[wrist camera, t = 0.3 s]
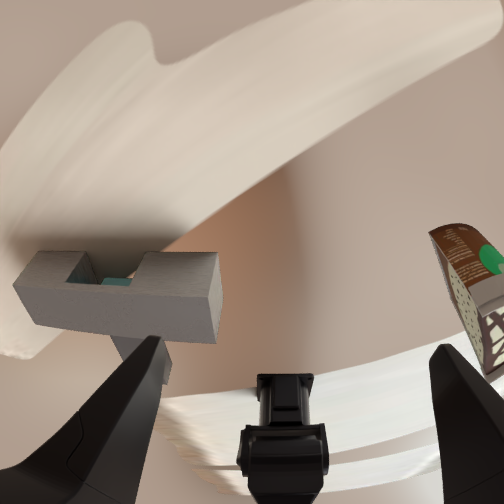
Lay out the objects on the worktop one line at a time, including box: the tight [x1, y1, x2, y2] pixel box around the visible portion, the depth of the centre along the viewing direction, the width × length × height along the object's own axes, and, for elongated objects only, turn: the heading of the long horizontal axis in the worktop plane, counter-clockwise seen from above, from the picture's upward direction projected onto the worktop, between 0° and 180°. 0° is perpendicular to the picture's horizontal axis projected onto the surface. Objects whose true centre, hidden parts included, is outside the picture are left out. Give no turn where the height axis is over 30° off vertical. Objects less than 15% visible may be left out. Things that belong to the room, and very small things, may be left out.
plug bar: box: [101, 278, 172, 385], centre depth 30 cm, size 13×4×3 cm, turn 1°
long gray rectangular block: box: [13, 251, 223, 344], centre depth 25 cm, size 5×18×5 cm, turn 92°
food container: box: [428, 223, 504, 384], centre depth 20 cm, size 12×6×10 cm, turn 37°
